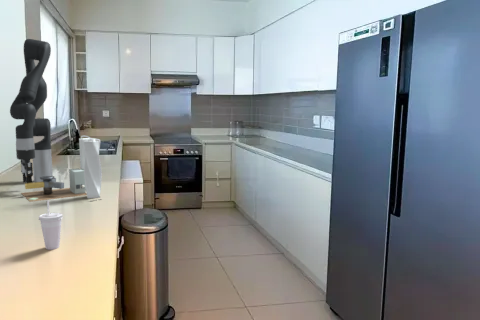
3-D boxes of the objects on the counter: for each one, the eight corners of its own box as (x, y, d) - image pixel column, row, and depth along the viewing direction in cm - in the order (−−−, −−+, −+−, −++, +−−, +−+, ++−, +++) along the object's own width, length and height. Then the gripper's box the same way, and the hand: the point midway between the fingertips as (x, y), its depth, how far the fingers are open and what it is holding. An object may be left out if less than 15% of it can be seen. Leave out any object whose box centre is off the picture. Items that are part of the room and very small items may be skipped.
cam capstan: (22, 192, 197) (21, 176, 196) (56, 189, 205) (55, 173, 204) (29, 199, 183) (28, 182, 182) (65, 195, 192) (64, 178, 191)
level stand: (70, 190, 203) (69, 169, 202) (79, 189, 206) (78, 168, 204) (76, 194, 195) (75, 172, 194) (86, 193, 197) (85, 171, 196)
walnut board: (21, 195, 198) (20, 192, 198) (75, 189, 211) (75, 187, 211) (29, 204, 181) (29, 201, 181) (88, 197, 194) (88, 194, 194)
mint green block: (33, 198, 187) (33, 197, 187) (38, 198, 186) (38, 197, 186) (28, 199, 184) (28, 199, 184) (33, 200, 183) (33, 199, 183)
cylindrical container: (100, 190, 209) (98, 138, 206) (89, 193, 203) (87, 139, 199) (89, 189, 212) (87, 137, 209) (78, 192, 206) (75, 139, 202)
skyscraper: (85, 202, 186) (82, 136, 182) (82, 198, 192) (79, 134, 188) (104, 200, 189) (101, 135, 185) (101, 196, 196) (98, 134, 192)
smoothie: (45, 244, 131) (42, 198, 129) (67, 243, 132) (64, 198, 130) (37, 251, 125) (34, 203, 123) (60, 250, 125) (57, 203, 124)
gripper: (13, 147, 201) (15, 182, 203) (18, 150, 189) (21, 187, 191) (31, 146, 205) (33, 180, 207) (37, 149, 193) (39, 185, 195)
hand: (27, 183), depth 199 cm, fingers open, 8 cm apart
